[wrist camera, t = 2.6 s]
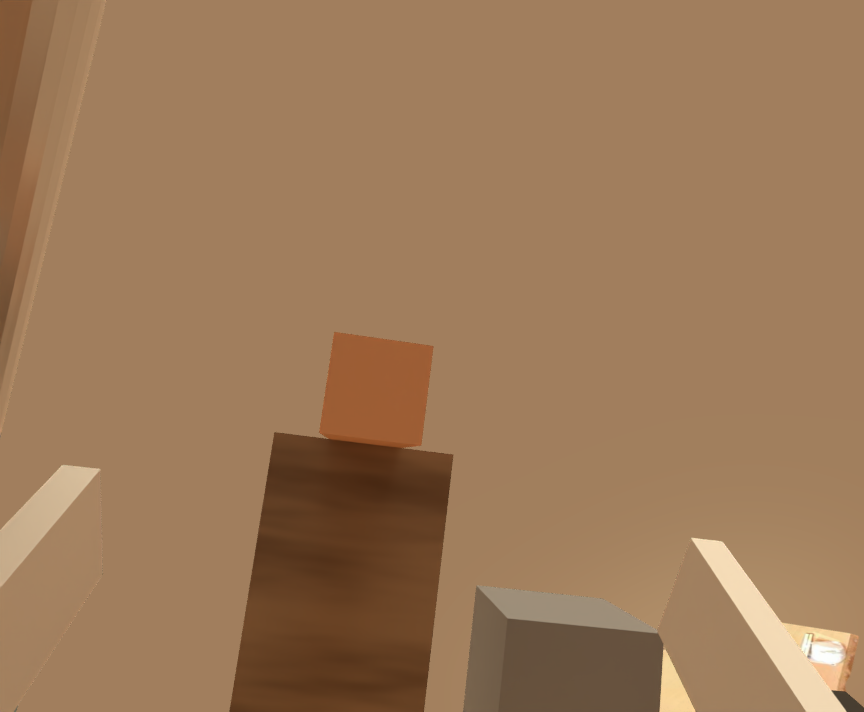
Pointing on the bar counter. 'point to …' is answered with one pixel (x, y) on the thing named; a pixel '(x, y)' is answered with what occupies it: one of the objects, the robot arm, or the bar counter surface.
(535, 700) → the low post
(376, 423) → the beam
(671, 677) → the bar counter surface
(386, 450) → the tall post
